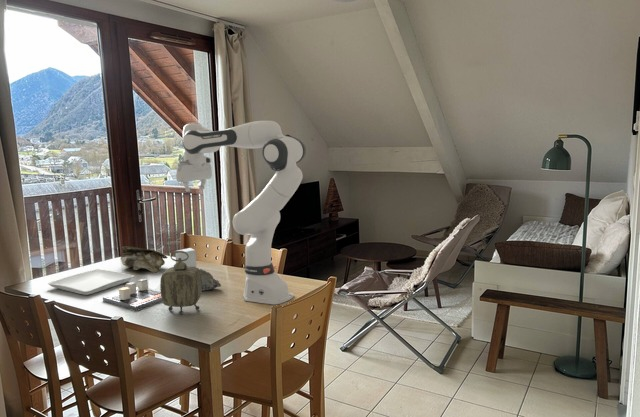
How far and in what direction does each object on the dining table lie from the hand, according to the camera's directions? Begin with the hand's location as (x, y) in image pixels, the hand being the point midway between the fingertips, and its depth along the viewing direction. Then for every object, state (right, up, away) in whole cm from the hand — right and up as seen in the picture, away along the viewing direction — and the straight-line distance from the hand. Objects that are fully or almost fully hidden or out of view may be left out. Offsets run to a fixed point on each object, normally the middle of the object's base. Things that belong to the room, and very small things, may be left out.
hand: (195, 190), depth 219 cm
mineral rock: (+4, -46, 0) cm, 46 cm away
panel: (-22, -47, -12) cm, 53 cm away
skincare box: (-8, -43, +17) cm, 47 cm away
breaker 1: (-25, -45, -10) cm, 52 cm away
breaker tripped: (-25, -46, -17) cm, 55 cm away
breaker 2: (-22, -44, -5) cm, 49 cm away
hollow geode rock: (-38, -41, +38) cm, 67 cm away
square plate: (-51, -45, +9) cm, 69 cm away
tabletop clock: (+2, -50, -28) cm, 57 cm away
